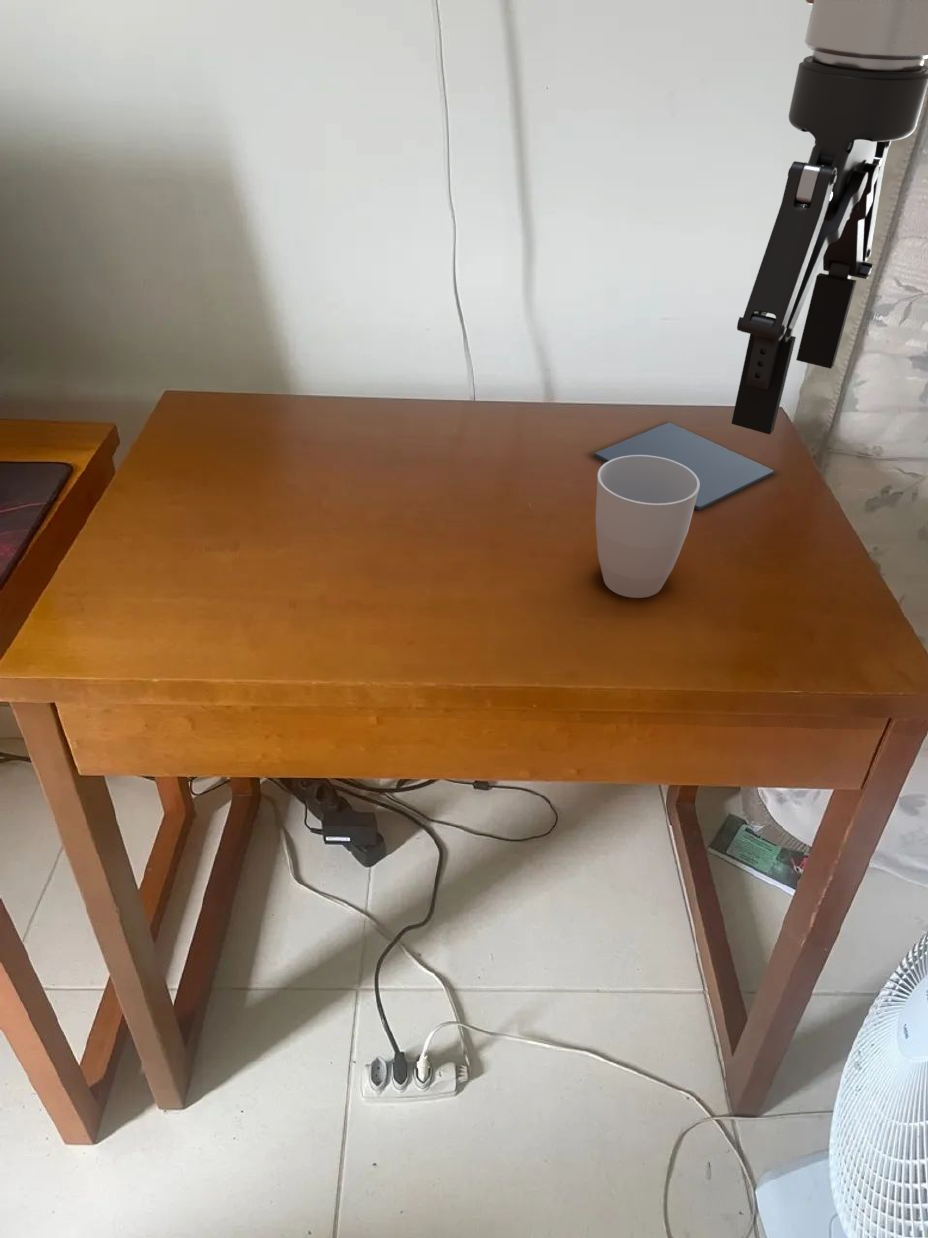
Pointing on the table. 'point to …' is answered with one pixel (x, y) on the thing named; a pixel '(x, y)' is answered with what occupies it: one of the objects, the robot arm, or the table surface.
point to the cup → (642, 521)
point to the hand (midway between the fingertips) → (785, 393)
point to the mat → (694, 460)
